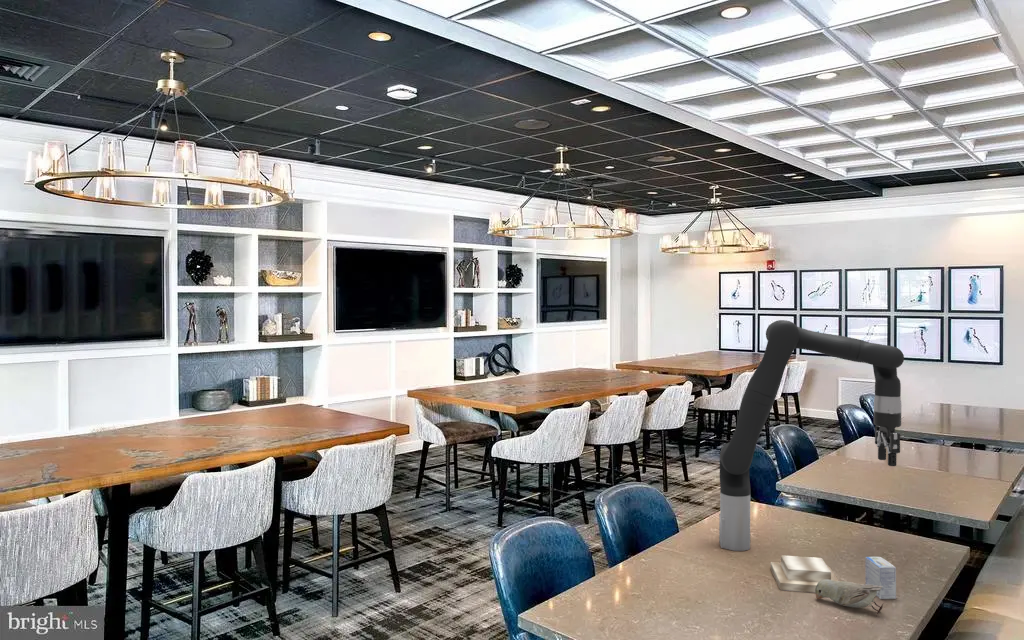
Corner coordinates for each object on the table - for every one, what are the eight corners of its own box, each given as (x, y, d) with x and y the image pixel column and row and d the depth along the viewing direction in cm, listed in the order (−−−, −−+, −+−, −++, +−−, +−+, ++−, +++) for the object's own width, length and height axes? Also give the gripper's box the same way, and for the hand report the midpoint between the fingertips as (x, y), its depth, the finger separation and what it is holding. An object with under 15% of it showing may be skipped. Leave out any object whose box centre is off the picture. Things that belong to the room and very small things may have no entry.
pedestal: (780, 590, 189) (780, 571, 189) (770, 568, 205) (770, 551, 205) (843, 594, 186) (843, 576, 186) (828, 572, 202) (828, 555, 202)
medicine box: (896, 599, 183) (896, 566, 183) (879, 599, 183) (879, 566, 183) (881, 587, 191) (881, 556, 191) (864, 587, 191) (865, 556, 191)
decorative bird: (818, 596, 186) (818, 568, 186) (885, 612, 176) (885, 583, 176) (812, 602, 182) (812, 574, 182) (880, 620, 172) (881, 589, 171)
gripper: (866, 406, 222) (866, 457, 222) (882, 413, 208) (882, 467, 208) (892, 407, 221) (891, 458, 221) (909, 414, 207) (909, 468, 207)
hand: (886, 462), depth 215 cm, fingers open, 8 cm apart
